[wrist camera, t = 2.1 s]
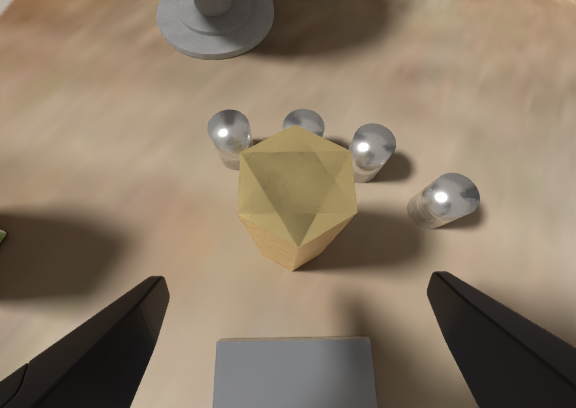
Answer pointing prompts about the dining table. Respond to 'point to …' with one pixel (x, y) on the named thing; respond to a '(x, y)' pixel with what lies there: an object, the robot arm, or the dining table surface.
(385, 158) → the cylinder
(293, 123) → the cylinder
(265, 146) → the tan faceted block
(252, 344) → the coaster
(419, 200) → the cylinder
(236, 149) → the cylinder
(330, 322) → the dining table surface
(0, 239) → the small white pieces
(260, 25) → the mate gourd
